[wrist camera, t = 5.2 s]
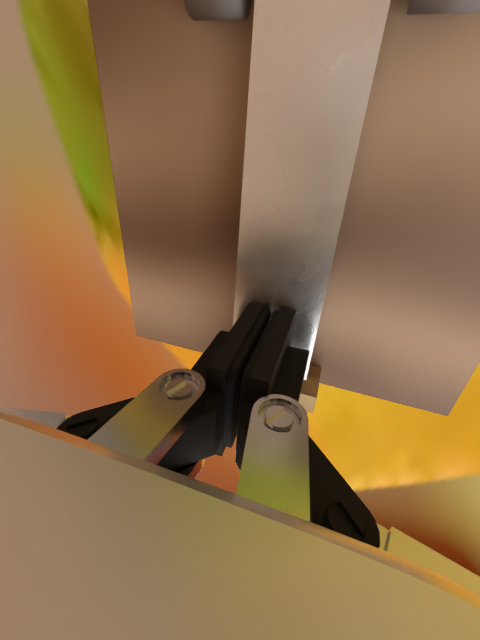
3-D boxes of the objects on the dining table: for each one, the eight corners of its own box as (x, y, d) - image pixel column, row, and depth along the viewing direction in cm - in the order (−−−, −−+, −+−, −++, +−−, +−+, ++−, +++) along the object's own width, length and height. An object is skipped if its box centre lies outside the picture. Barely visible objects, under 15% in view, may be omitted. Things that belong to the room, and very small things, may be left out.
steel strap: (265, -35, 7) (257, -54, 7) (400, -45, 7) (405, -67, 6) (236, 351, 13) (229, 361, 12) (308, 369, 12) (305, 381, 11)
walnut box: (170, 11, 13) (22, -87, 7) (585, -4, 9) (915, -211, 4) (183, 294, 20) (112, 356, 14) (425, 345, 16) (459, 454, 11)
